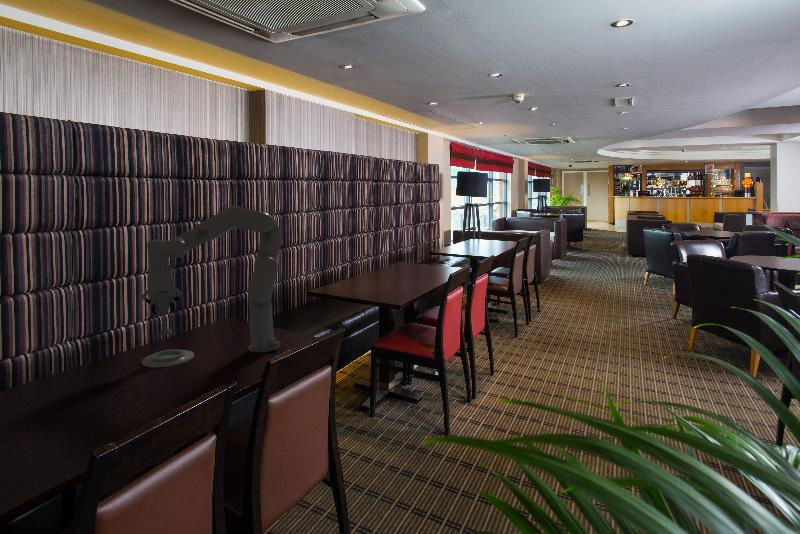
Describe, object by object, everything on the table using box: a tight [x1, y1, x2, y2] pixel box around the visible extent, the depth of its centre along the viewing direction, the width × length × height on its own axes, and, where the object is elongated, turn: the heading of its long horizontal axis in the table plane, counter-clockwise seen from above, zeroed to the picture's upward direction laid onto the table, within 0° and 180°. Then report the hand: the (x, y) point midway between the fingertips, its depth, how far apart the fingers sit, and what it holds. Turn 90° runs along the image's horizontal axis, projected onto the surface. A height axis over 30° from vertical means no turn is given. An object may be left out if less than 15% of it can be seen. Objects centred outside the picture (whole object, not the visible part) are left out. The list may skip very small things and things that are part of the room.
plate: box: [141, 348, 195, 369], centre depth 211 cm, size 20×20×2 cm
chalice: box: [154, 292, 173, 337], centre depth 208 cm, size 7×7×18 cm
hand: (163, 312), depth 208 cm, fingers closed on chalice, 6 cm apart
